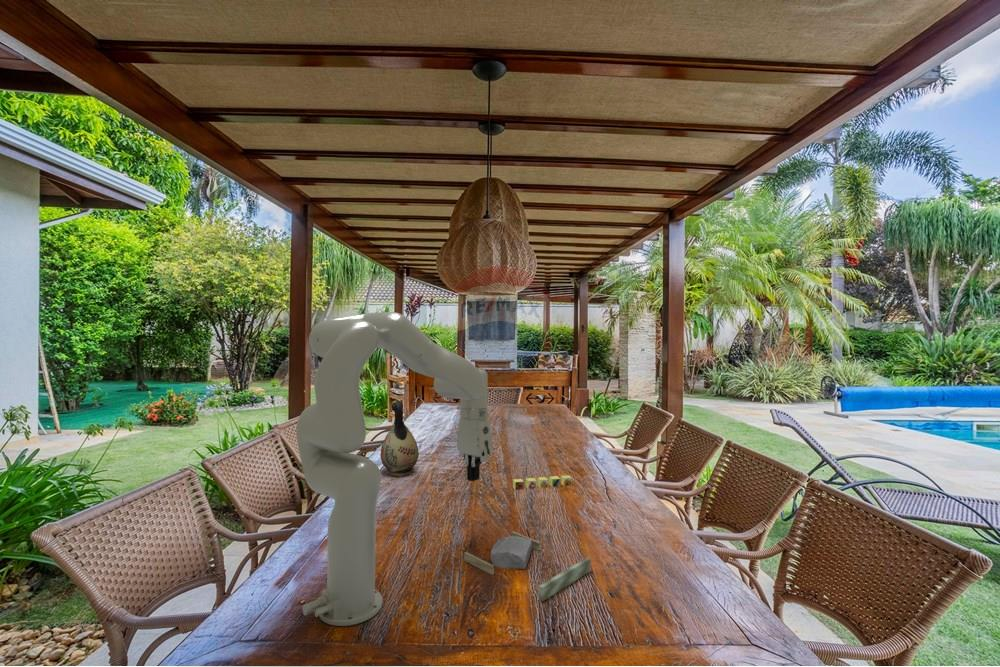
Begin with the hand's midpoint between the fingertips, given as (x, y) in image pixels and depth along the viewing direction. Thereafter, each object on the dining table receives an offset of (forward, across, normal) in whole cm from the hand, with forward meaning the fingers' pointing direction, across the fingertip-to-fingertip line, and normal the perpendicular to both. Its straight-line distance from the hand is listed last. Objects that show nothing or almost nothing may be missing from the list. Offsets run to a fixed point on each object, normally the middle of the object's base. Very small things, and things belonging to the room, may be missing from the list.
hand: (473, 479), depth 129 cm
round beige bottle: (+17, +67, -20) cm, 72 cm away
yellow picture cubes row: (+18, +14, -50) cm, 55 cm away
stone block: (+18, -14, 0) cm, 22 cm away
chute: (+17, -19, 0) cm, 25 cm away
